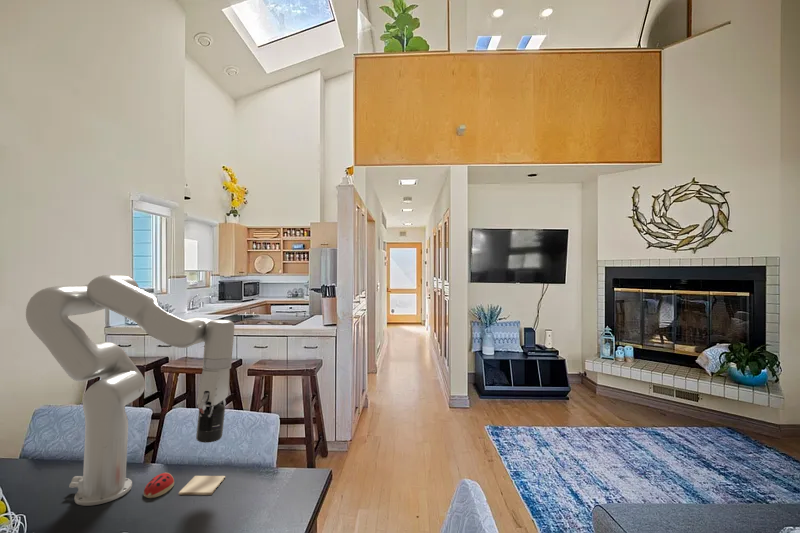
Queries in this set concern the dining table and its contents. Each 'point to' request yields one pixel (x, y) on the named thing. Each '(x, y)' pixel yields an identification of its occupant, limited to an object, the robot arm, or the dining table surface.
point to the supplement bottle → (212, 425)
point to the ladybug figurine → (159, 485)
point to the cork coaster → (202, 485)
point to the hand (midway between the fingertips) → (212, 425)
